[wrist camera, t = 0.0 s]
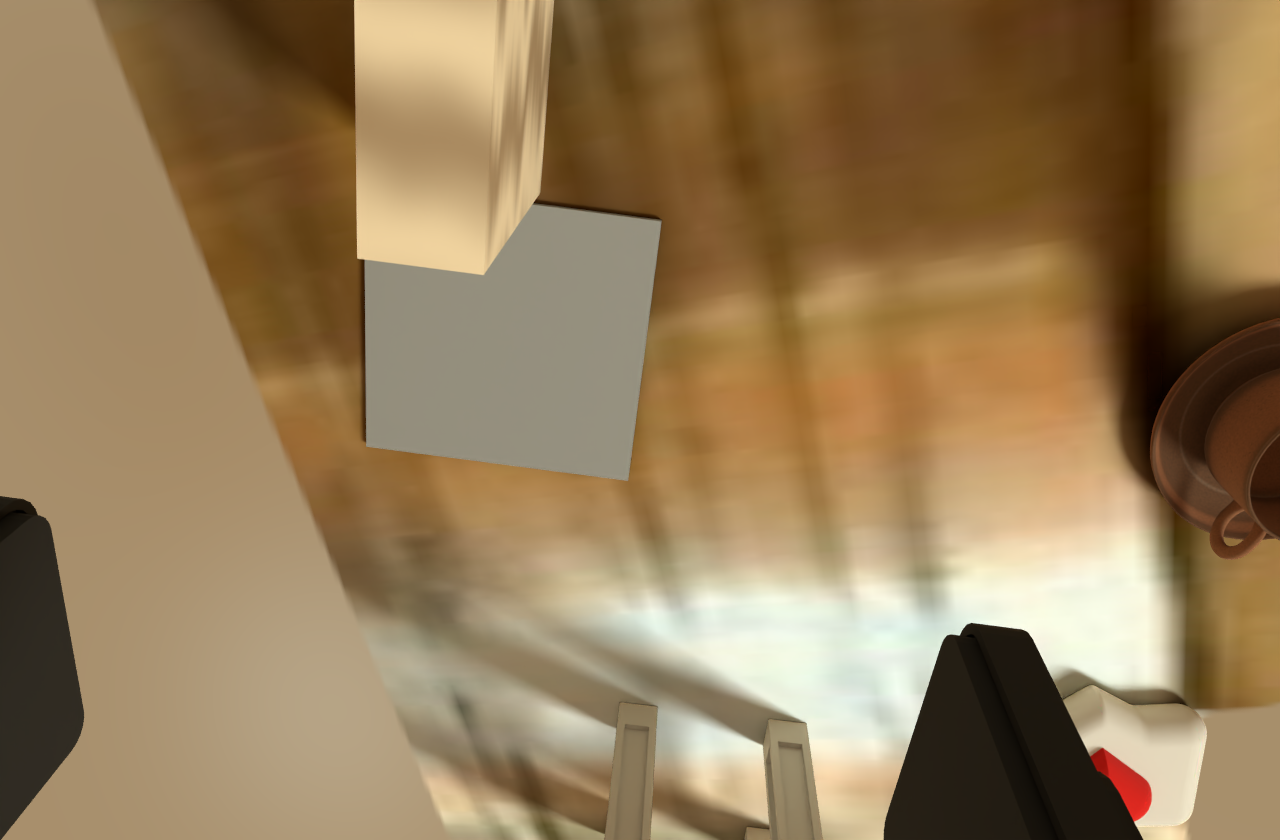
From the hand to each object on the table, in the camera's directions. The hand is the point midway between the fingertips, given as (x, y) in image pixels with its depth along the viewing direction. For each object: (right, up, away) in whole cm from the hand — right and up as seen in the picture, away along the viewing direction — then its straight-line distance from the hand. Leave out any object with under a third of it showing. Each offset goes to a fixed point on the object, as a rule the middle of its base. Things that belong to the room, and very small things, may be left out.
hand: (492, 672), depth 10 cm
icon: (+28, -17, +48) cm, 58 cm away
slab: (-5, +18, +33) cm, 37 cm away
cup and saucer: (+33, +3, +38) cm, 50 cm away
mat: (-5, +7, +38) cm, 39 cm away
